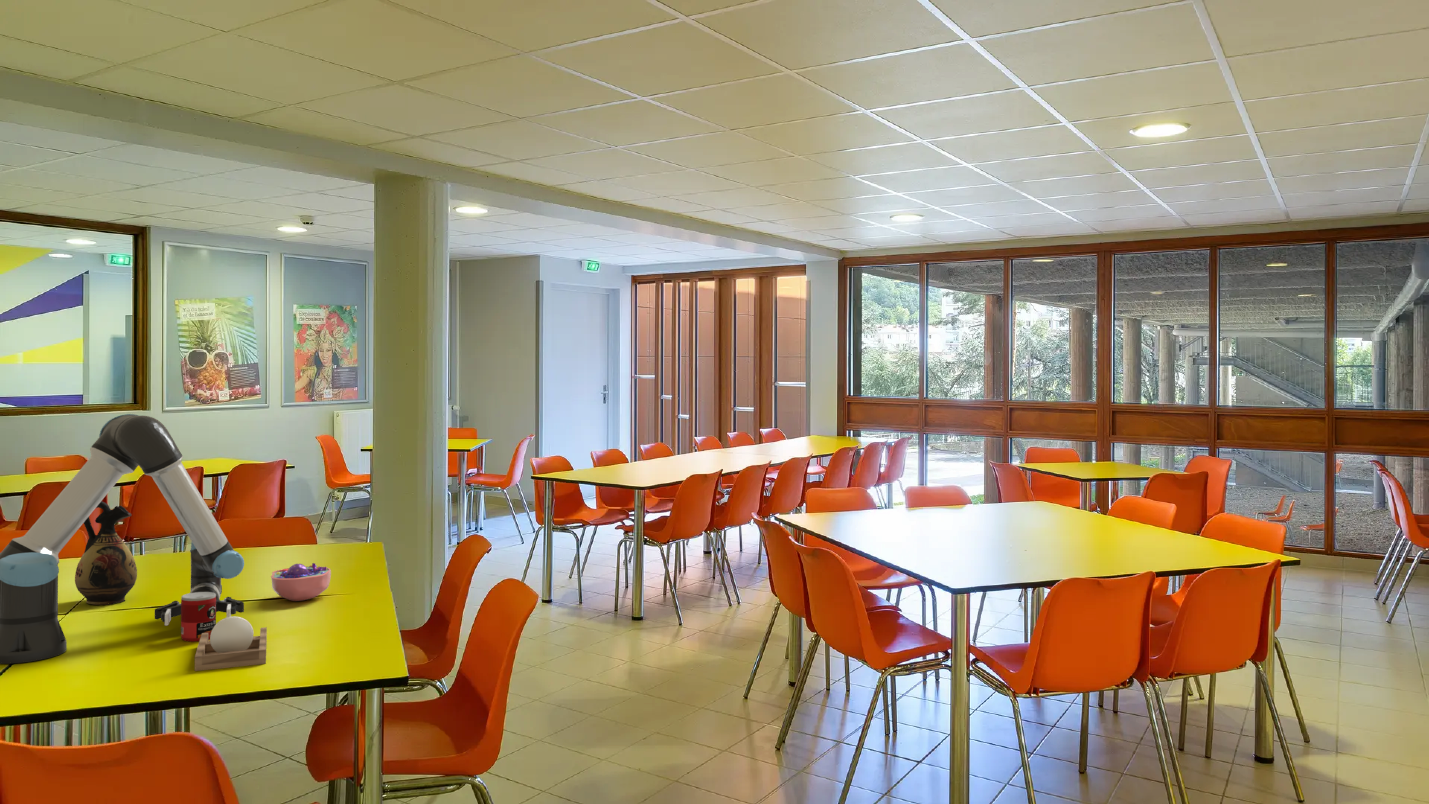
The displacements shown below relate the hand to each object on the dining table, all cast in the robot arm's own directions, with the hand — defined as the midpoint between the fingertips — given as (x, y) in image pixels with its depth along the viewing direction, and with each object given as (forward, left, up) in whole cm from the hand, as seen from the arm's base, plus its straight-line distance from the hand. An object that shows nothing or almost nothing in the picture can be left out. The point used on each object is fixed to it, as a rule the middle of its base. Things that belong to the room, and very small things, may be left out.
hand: (197, 617), depth 232 cm
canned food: (+2, +2, -6) cm, 7 cm away
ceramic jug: (+21, +61, -6) cm, 65 cm away
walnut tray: (-6, -18, -6) cm, 20 cm away
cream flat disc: (-9, -21, -5) cm, 24 cm away
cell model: (+46, +11, -6) cm, 48 cm away
